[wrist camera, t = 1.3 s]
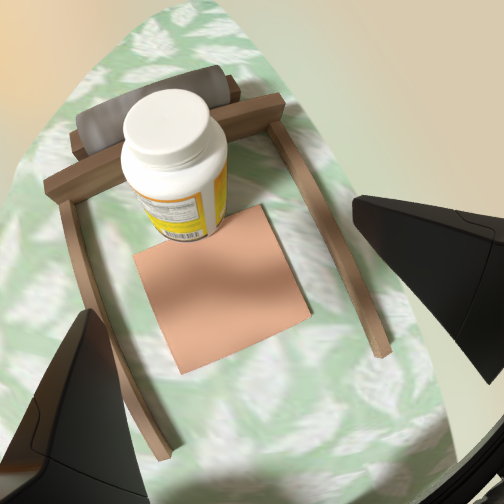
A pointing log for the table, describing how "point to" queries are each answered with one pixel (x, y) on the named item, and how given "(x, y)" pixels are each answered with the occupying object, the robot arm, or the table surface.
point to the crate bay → (204, 244)
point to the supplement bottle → (176, 164)
